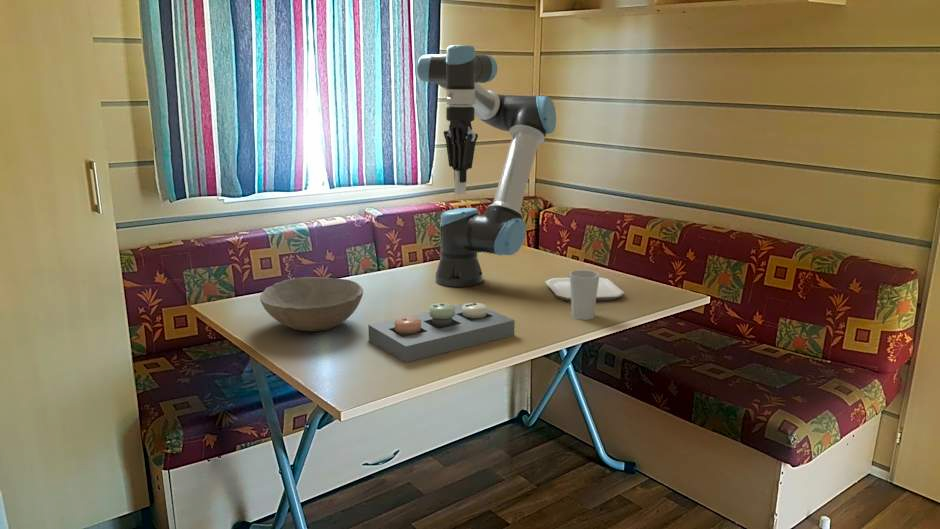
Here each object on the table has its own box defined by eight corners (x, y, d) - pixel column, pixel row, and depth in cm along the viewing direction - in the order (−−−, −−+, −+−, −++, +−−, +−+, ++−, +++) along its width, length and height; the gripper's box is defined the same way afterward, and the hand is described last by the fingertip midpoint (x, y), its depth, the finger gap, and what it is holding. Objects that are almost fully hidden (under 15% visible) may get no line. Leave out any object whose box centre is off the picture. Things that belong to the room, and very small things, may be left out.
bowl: (316, 352, 173) (314, 312, 171) (240, 331, 187) (237, 294, 184) (385, 321, 195) (384, 285, 192) (312, 305, 208) (310, 271, 206)
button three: (457, 323, 189) (457, 305, 188) (477, 318, 193) (477, 300, 192) (471, 330, 184) (471, 311, 183) (491, 325, 188) (492, 306, 187)
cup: (596, 321, 196) (599, 278, 193) (566, 319, 197) (568, 276, 194) (597, 312, 203) (599, 271, 200) (569, 310, 205) (570, 269, 202)
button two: (424, 324, 183) (424, 305, 182) (445, 319, 187) (445, 300, 186) (438, 331, 178) (438, 312, 177) (460, 326, 182) (460, 307, 180)
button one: (390, 338, 178) (389, 319, 177) (412, 333, 182) (412, 314, 180) (403, 346, 173) (403, 326, 172) (426, 341, 177) (426, 321, 175)
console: (368, 339, 181) (368, 324, 180) (472, 316, 199) (472, 302, 198) (405, 362, 167) (405, 346, 166) (514, 334, 185) (514, 320, 184)
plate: (559, 304, 211) (559, 297, 210) (542, 285, 230) (542, 278, 230) (627, 302, 213) (628, 295, 213) (605, 282, 233) (605, 276, 233)
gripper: (435, 105, 196) (435, 192, 202) (463, 107, 186) (462, 198, 192) (458, 104, 201) (457, 189, 207) (486, 106, 190) (485, 195, 196)
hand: (460, 193), depth 199 cm, fingers closed
